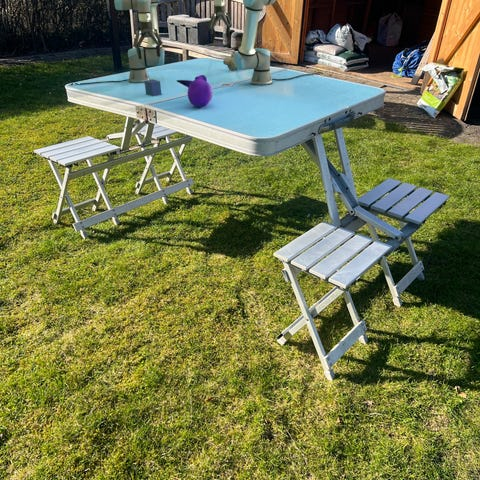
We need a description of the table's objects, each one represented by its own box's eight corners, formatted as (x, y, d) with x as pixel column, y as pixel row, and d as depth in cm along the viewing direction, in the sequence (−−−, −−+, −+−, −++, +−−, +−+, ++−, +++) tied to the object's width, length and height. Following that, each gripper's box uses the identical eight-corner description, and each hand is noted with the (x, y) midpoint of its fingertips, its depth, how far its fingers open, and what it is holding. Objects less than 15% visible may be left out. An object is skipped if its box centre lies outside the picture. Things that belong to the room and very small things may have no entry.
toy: (200, 97, 287) (212, 112, 266) (174, 93, 280) (184, 108, 259) (206, 72, 279) (218, 86, 258) (178, 67, 272) (189, 80, 251)
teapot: (227, 72, 362) (226, 52, 355) (220, 70, 371) (219, 51, 363) (249, 69, 371) (249, 50, 364) (242, 67, 380) (242, 48, 372)
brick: (152, 96, 295) (151, 82, 291) (146, 93, 301) (144, 80, 297) (161, 94, 299) (160, 81, 295) (154, 92, 305) (153, 79, 301)
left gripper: (130, 22, 269) (135, 60, 279) (165, 20, 282) (169, 56, 293) (124, 22, 273) (129, 59, 284) (159, 19, 287) (163, 54, 298)
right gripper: (208, 6, 311) (210, 39, 322) (236, 4, 325) (237, 36, 336) (202, 6, 316) (204, 39, 327) (229, 4, 330) (230, 36, 341)
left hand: (149, 57), depth 289 cm, fingers open, 13 cm apart
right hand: (220, 37), depth 331 cm, fingers open, 13 cm apart
